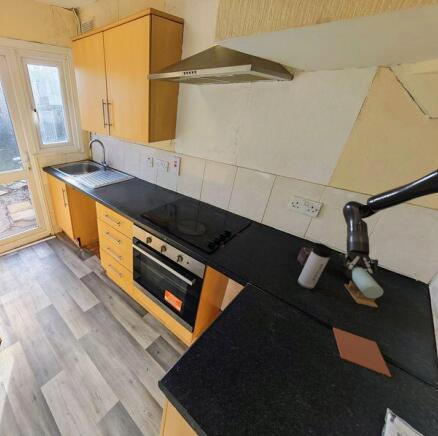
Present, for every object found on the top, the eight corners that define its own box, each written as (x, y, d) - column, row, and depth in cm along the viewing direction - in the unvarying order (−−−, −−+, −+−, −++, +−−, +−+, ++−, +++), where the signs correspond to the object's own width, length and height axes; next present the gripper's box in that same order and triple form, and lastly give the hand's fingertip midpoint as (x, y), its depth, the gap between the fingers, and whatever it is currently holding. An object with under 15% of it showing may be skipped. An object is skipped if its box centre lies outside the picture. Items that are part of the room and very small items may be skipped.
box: (301, 265, 112) (307, 253, 109) (296, 258, 117) (301, 246, 114) (314, 267, 111) (320, 255, 108) (308, 260, 116) (314, 248, 113)
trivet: (375, 343, 76) (375, 342, 76) (390, 377, 66) (391, 376, 66) (332, 328, 80) (333, 327, 80) (341, 357, 71) (341, 357, 70)
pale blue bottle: (378, 300, 90) (386, 288, 87) (360, 296, 91) (367, 284, 88) (356, 273, 104) (363, 263, 101) (341, 270, 105) (347, 260, 102)
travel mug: (298, 276, 104) (316, 240, 95) (315, 284, 100) (335, 247, 91) (295, 282, 100) (312, 245, 91) (312, 291, 96) (332, 253, 87)
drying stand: (377, 307, 90) (382, 300, 88) (356, 303, 92) (361, 296, 90) (362, 288, 100) (366, 282, 98) (344, 284, 101) (347, 278, 99)
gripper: (344, 238, 101) (345, 275, 96) (383, 244, 97) (385, 283, 93) (334, 241, 108) (334, 277, 103) (369, 248, 104) (371, 284, 100)
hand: (358, 280), depth 98 cm, fingers closed on pale blue bottle, 6 cm apart
